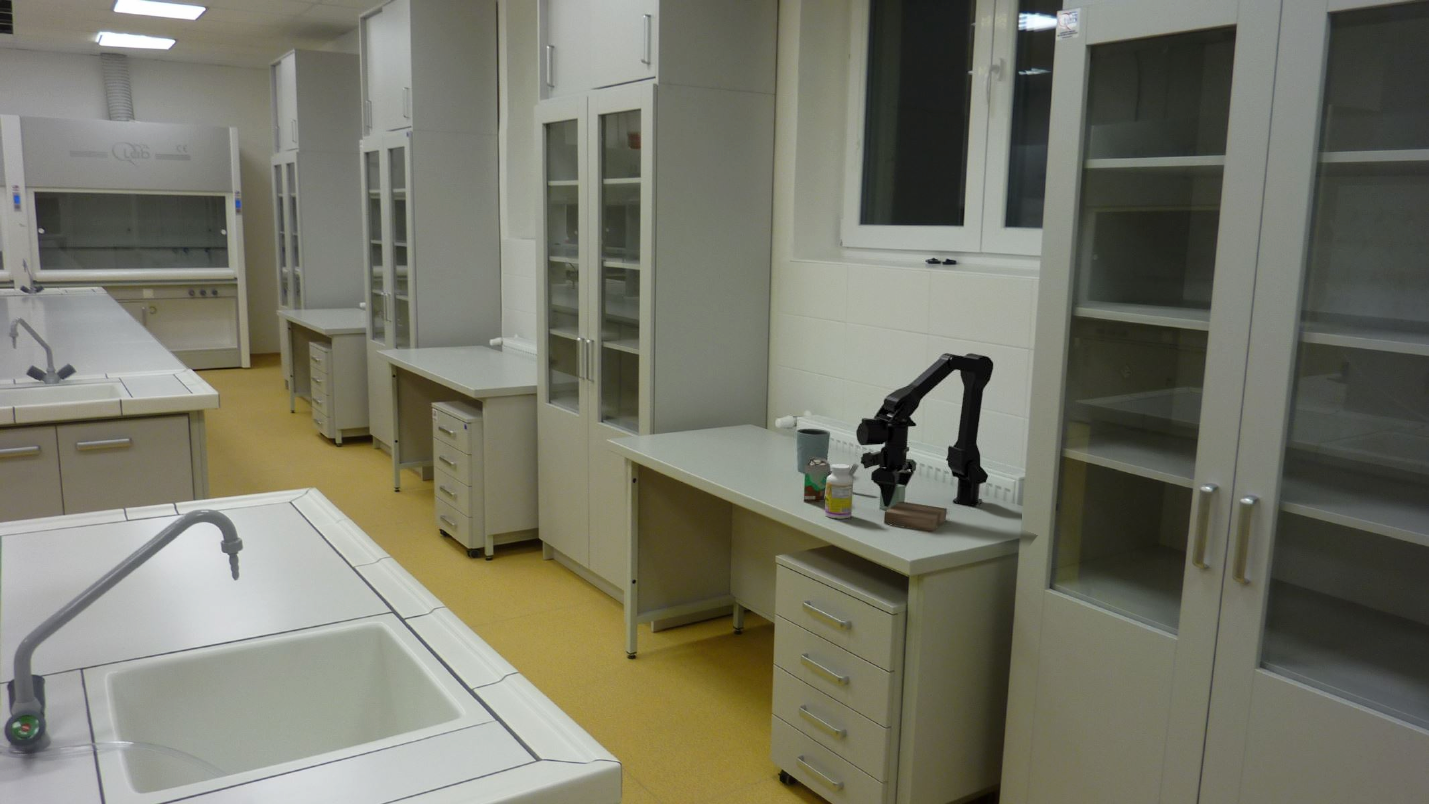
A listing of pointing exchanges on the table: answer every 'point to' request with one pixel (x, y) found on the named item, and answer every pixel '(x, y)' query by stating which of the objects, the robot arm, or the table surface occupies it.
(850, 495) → the supplement bottle
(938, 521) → the walnut base
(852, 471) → the lighter
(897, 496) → the green block
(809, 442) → the grey plant pot
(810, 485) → the food container
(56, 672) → the table surface
